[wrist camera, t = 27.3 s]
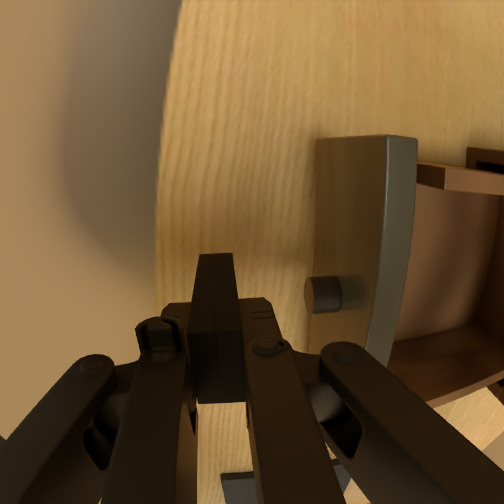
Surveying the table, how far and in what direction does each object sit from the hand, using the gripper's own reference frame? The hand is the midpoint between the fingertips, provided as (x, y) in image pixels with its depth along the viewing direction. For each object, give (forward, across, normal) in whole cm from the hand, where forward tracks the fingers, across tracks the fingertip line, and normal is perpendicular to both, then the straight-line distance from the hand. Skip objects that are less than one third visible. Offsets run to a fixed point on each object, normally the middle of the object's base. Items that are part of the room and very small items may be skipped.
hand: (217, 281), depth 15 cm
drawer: (+2, +11, 0) cm, 11 cm away
